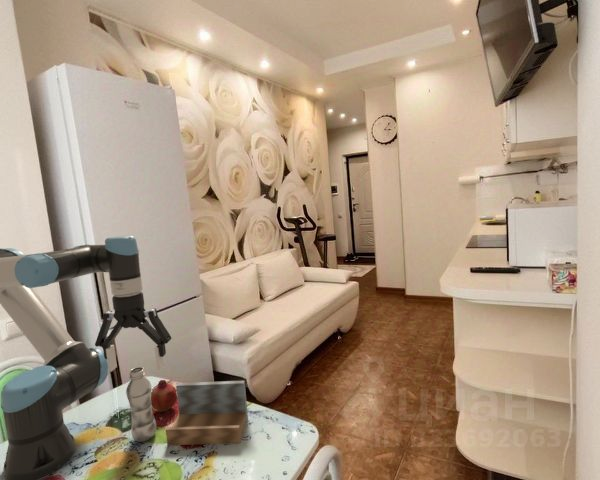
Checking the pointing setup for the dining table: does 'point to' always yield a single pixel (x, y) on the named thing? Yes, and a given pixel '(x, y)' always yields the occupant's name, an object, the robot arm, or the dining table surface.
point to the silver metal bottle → (140, 406)
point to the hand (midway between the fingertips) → (136, 368)
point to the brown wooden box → (209, 413)
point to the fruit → (163, 396)
